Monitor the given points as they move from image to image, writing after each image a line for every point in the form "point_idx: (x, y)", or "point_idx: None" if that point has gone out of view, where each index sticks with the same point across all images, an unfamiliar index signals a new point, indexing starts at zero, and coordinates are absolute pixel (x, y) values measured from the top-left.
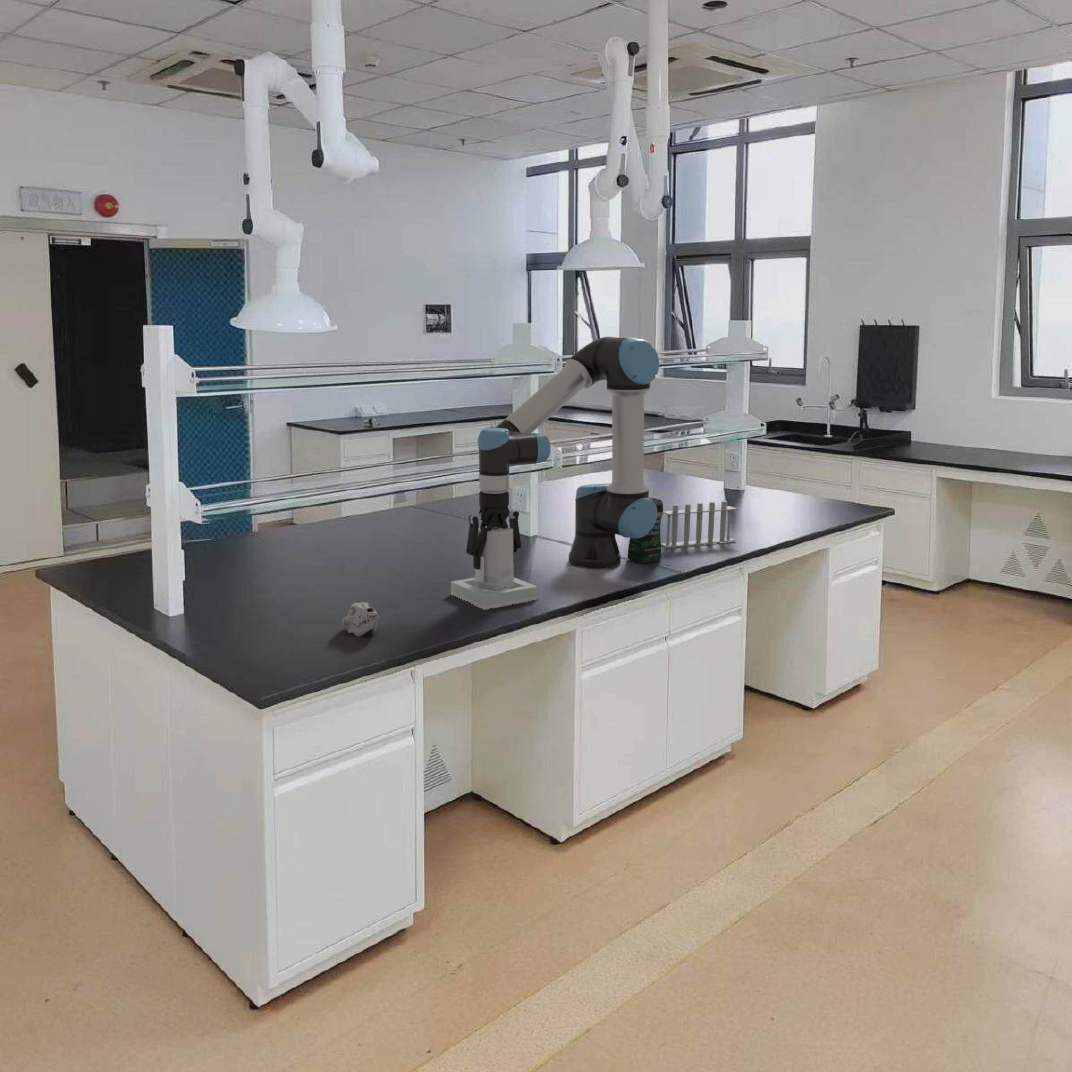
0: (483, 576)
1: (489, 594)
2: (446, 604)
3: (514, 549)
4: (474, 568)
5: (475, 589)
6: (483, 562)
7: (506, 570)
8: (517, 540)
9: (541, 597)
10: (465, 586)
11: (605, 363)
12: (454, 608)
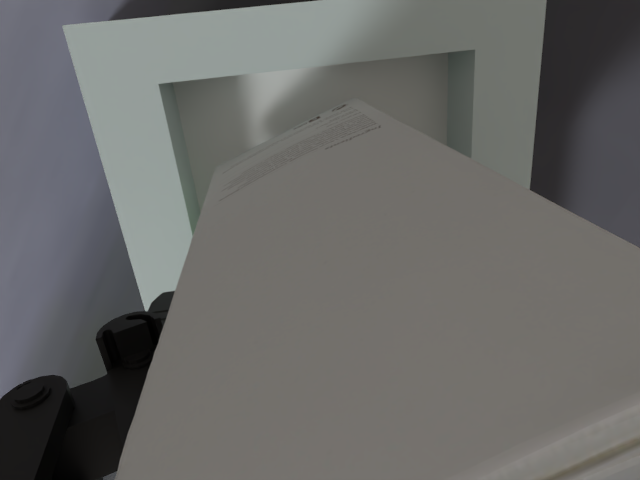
0: None
1: (493, 2)
2: (589, 189)
3: (128, 353)
4: None
5: (498, 163)
6: None
7: (303, 153)
8: (22, 463)
9: (52, 72)
10: None
11: None
12: (603, 106)
